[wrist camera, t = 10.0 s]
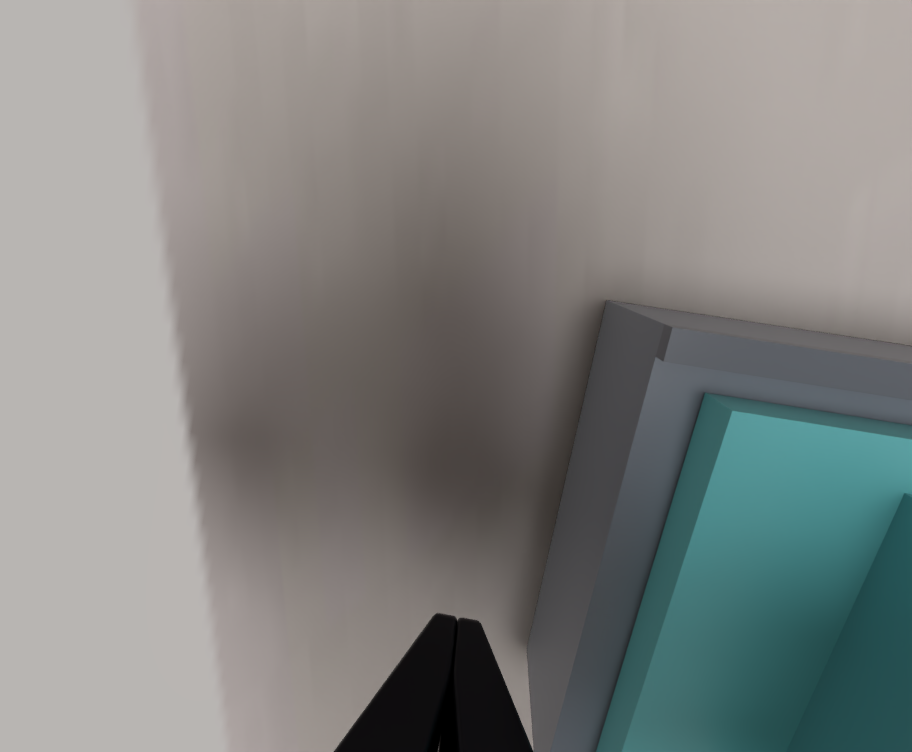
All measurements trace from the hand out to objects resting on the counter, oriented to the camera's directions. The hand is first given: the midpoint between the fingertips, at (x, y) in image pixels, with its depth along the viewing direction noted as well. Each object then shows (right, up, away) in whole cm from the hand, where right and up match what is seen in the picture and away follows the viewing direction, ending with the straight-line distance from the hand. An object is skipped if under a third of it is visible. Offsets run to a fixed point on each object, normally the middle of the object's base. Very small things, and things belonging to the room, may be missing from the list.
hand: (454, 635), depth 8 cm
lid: (+7, -1, +1) cm, 7 cm away
